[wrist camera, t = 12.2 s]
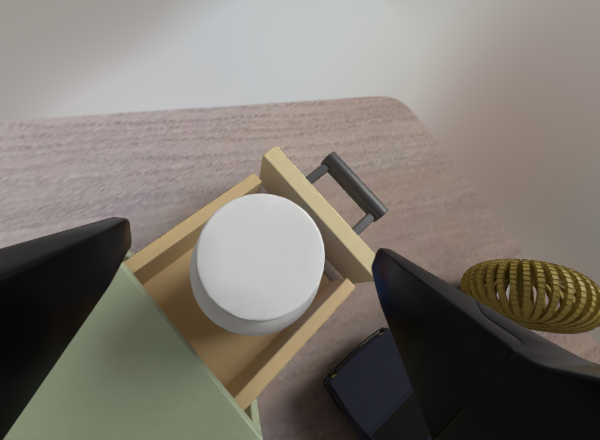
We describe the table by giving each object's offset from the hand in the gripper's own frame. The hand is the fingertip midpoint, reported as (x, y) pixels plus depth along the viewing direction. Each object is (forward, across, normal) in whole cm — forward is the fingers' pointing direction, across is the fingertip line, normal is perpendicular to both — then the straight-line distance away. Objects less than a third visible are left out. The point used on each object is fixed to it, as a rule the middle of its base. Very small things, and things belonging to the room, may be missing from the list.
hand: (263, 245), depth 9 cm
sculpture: (+7, -20, +8) cm, 23 cm away
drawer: (+7, -1, +6) cm, 9 cm away
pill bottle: (+6, 0, +6) cm, 9 cm away
